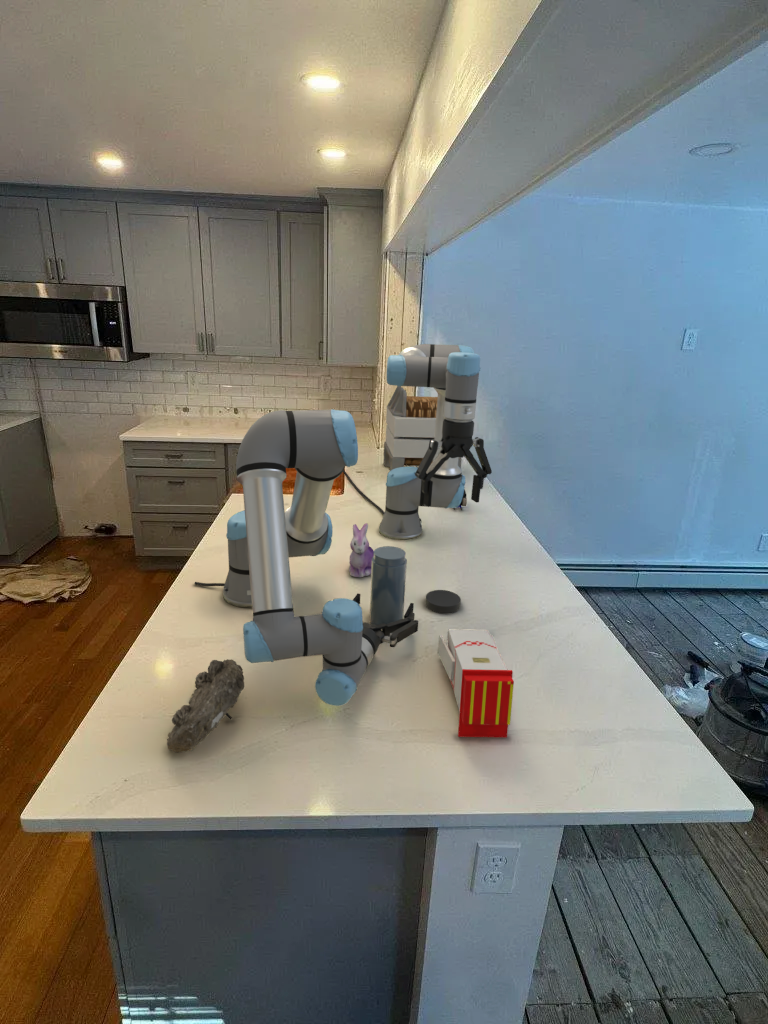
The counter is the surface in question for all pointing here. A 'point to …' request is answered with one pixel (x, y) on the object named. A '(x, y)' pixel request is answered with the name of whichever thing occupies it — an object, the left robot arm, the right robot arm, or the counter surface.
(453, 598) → the lid
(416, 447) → the white slatted crate
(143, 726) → the counter surface
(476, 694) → the toy
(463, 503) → the figurine character
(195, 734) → the fossil
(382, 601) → the jar
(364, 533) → the figurine
